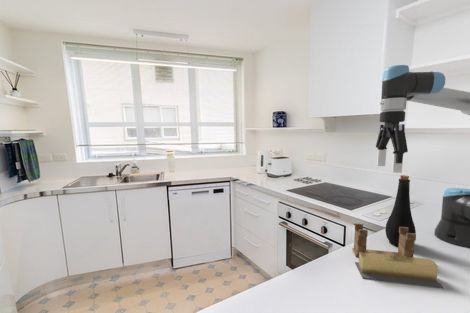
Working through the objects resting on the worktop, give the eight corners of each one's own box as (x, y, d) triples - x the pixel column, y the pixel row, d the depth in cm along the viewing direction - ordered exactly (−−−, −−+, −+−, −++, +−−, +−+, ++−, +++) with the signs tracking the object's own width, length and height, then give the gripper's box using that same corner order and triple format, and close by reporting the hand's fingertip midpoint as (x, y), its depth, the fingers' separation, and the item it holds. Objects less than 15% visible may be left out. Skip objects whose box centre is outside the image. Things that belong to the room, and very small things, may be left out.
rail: (429, 273, 78) (430, 258, 77) (436, 281, 74) (438, 265, 73) (358, 266, 83) (359, 251, 82) (362, 272, 79) (362, 257, 78)
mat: (426, 270, 80) (426, 269, 80) (443, 288, 71) (443, 287, 71) (354, 263, 85) (355, 262, 85) (362, 278, 77) (362, 277, 76)
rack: (406, 254, 90) (409, 227, 89) (415, 263, 84) (418, 234, 83) (351, 249, 95) (353, 223, 93) (356, 257, 89) (357, 229, 87)
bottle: (385, 235, 106) (390, 172, 102) (414, 242, 99) (421, 175, 96) (382, 245, 98) (387, 176, 94) (414, 253, 91) (420, 179, 88)
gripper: (369, 113, 95) (366, 163, 98) (397, 108, 71) (391, 175, 74) (389, 112, 94) (385, 164, 96) (424, 107, 70) (418, 176, 72)
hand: (388, 169), depth 85 cm, fingers open, 13 cm apart
